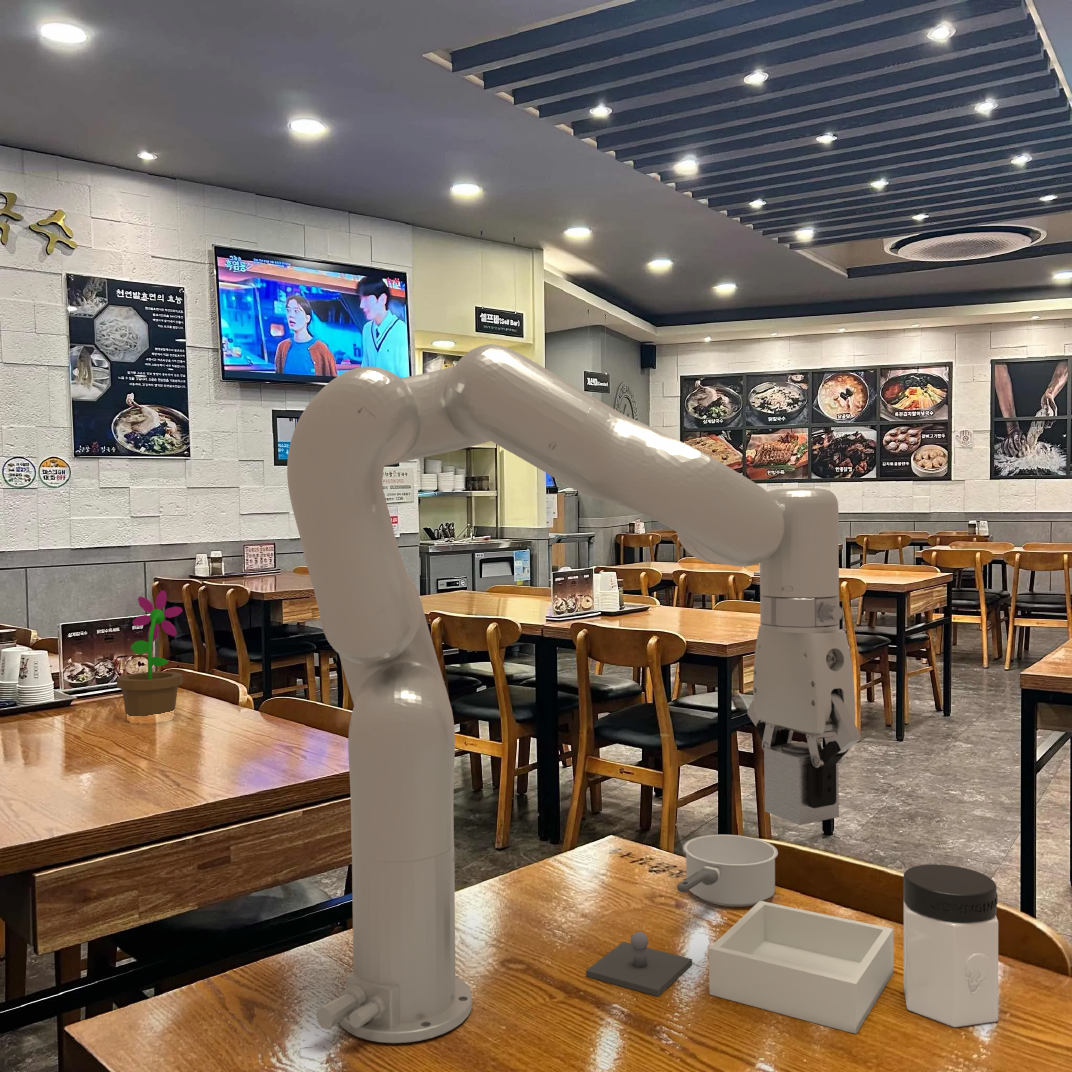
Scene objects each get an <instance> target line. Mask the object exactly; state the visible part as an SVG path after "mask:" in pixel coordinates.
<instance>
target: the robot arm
mask: <svg viewBox="0 0 1072 1072" xmlns="http://www.w3.org/2000/svg"><path fill="white" fill-rule="evenodd" d="M292 433H293V434H292V436H291V440H290V443H289V449H288V454H287V464H286V467H287V468H286V469H287V473H286V476H287V487H288V492H289V493H288V494H289V499H290V503H291V508H292V511H293V516H294V520H295V524H296V527H297V532H298V535H299V538H300V539H299V540H300V542H301V547H302V550H303V556H304V560H305V563H306V567H307V570H308V571H307V572H308V574H309V578H310V582H311V586H312V588H313V593H314V596H315V601H316V604H317V608H318V613H319V619H320V620H319V621H320V624H321V628H322V632H323V635H324V636H325V639H326V640H327V642H328V643H329V645H330V646H331V647H332V649H333V650H334V651H335V652H336V653H338V656H339V659H340V662H341V666H342V670H343V672H344V676H345V680H346V683H347V686H348V689H349V694H350V696H351V700H352V703H353V708H352V712H351V715H350V716H351V717H350V720H349V727H348V736H347V737H348V740H347V742H348V743H347V744H348V745H347V746H348V748H347V750H348V754H347V755H348V766H349V767H348V771H349V787H350V788H349V789H350V790H349V791H350V824H351V826H350V827H351V829H350V832H351V833H350V834H351V838H350V839H351V841H350V842H351V843H350V844H351V872H352V873H351V874H352V876H351V878H352V881H351V883H352V884H351V885H352V886H351V887H352V888H351V889H352V958H353V959H352V964H353V965H352V967H353V971H351V972H349V973H348V974H346V975H345V989H343V990H342V991H341V993H340V994H339V995H338V996H339V997H337V998H334V999H333V1000H331V1001H329V1002H327V1003H325V1004H323V1005H322V1006H320V1007H318V1008H317V1011H316V1020H317V1023H318V1025H319V1026H320V1027H321V1028H322V1029H324V1030H329V1029H331V1028H333V1027H334V1026H336V1025H338V1024H339V1025H340V1026H341V1027H342V1028H343V1029H344V1030H345V1031H346V1032H348V1033H349V1034H351V1035H353V1036H355V1037H357V1038H360V1039H362V1040H366V1041H371V1042H375V1043H383V1044H384V1043H385V1044H406V1043H415V1042H420V1041H425V1040H426V1041H427V1040H429V1039H433V1038H435V1037H438V1036H442V1035H444V1034H446V1033H449V1032H450V1031H452V1030H454V1029H456V1028H457V1027H458V1026H460V1025H461V1024H462V1023H463V1022H465V1020H466V1019H467V1018H468V1017H469V1015H470V1013H471V1012H472V1007H473V995H472V991H471V988H470V986H469V985H468V984H467V983H466V982H465V981H464V980H463V979H462V978H460V977H458V976H456V912H455V911H456V909H455V908H456V906H455V905H456V904H455V903H456V901H455V899H456V898H455V897H456V896H455V895H456V893H455V890H456V889H455V887H456V886H455V831H454V825H455V824H454V823H455V821H454V796H455V795H454V792H455V791H454V790H455V789H454V787H455V784H454V782H455V757H456V756H455V755H456V731H455V722H454V721H455V720H454V715H453V709H452V706H451V702H450V699H449V694H448V691H447V687H446V685H445V681H444V680H445V679H444V678H443V673H442V670H441V667H440V664H439V660H438V657H437V653H436V649H435V646H434V643H433V639H432V636H431V632H430V628H429V625H428V622H427V619H426V614H425V612H424V606H423V604H422V601H421V600H422V599H421V597H420V594H419V590H418V588H417V587H416V586H417V585H416V584H415V582H414V581H413V579H412V578H411V577H410V576H409V575H408V573H407V570H406V568H405V565H404V562H403V559H402V555H401V552H400V548H399V545H398V542H397V539H396V534H395V532H394V527H393V521H392V518H391V514H390V511H389V507H388V503H387V500H386V496H385V491H384V487H383V486H384V484H383V475H384V470H385V466H391V465H395V464H400V463H404V462H409V461H414V460H417V459H418V460H419V459H422V458H426V457H432V456H437V455H441V454H445V453H450V452H454V451H458V450H459V451H460V450H462V449H468V448H472V447H476V446H478V445H482V444H486V443H489V442H491V443H494V444H495V445H497V446H498V447H501V448H502V449H504V450H505V451H507V452H509V453H512V454H513V455H515V456H516V457H518V458H520V459H521V460H523V461H525V462H527V463H529V464H530V465H532V466H533V467H535V468H537V469H539V470H541V471H542V472H544V473H546V474H547V475H548V476H550V477H552V478H554V479H556V480H557V481H559V482H561V483H563V484H564V485H566V486H568V487H569V488H571V489H573V490H575V491H577V492H579V493H582V494H584V495H585V496H588V497H590V498H593V499H595V500H599V501H602V502H607V503H610V504H614V505H618V506H621V507H624V508H626V509H630V510H632V511H634V512H636V513H639V514H640V515H641V514H642V515H644V516H646V517H648V518H650V519H651V520H654V521H656V522H658V523H660V524H662V525H664V526H665V527H668V528H669V529H671V530H673V531H675V532H676V535H677V538H678V541H679V543H680V545H681V546H682V547H683V549H684V550H685V551H686V552H687V553H688V554H689V555H691V556H692V557H693V558H695V559H698V560H699V561H701V562H705V563H710V564H716V565H723V566H724V565H728V566H733V567H744V568H745V567H751V566H756V565H759V593H760V594H759V597H760V598H759V599H760V600H759V601H760V602H759V607H760V609H759V610H760V612H759V613H760V614H759V615H760V621H759V622H760V624H759V626H758V631H757V636H756V641H755V651H754V662H753V674H752V675H753V678H752V681H753V682H752V694H753V695H752V701H751V703H750V705H749V706H748V708H747V711H746V712H747V716H748V718H750V720H751V722H752V723H753V724H754V726H755V728H756V732H757V734H758V736H759V737H760V739H761V749H762V751H764V748H765V747H772V746H778V745H783V744H786V743H792V739H793V734H794V732H795V733H799V734H803V735H805V737H806V740H807V741H806V743H808V747H809V752H810V757H811V761H812V764H813V765H810V766H807V804H808V806H809V807H811V808H819V807H824V806H829V805H834V804H835V803H836V764H838V765H839V764H841V763H842V760H843V757H844V756H845V755H846V754H847V753H848V752H849V750H850V749H851V748H852V747H854V746H855V745H856V744H857V743H858V742H860V740H861V733H860V731H859V730H858V728H857V726H856V698H855V682H854V672H853V663H852V656H851V651H850V647H849V646H850V645H849V641H848V637H847V634H846V630H843V629H840V620H842V618H843V615H844V612H843V609H842V607H841V606H840V588H839V587H840V575H839V574H840V572H839V571H840V569H839V568H840V567H839V566H840V564H839V562H840V561H839V560H840V559H839V555H840V554H839V552H840V551H839V550H840V548H839V545H840V543H839V541H840V539H839V537H840V536H839V533H840V532H839V531H840V530H839V525H840V523H839V521H840V520H839V513H840V512H839V501H838V499H837V496H836V495H835V493H834V492H832V491H831V490H828V489H825V488H816V487H815V488H813V487H812V488H810V487H809V488H808V487H807V488H806V487H805V488H802V487H800V488H780V489H773V490H769V491H767V490H766V489H765V488H764V487H762V486H760V485H759V484H757V483H756V482H754V481H753V480H752V479H749V478H748V477H746V476H744V475H743V474H741V473H740V472H738V471H736V470H734V469H733V468H731V467H729V466H728V465H726V464H725V463H722V462H721V461H719V460H718V459H716V458H714V457H713V456H710V455H709V454H706V452H703V451H702V450H699V449H697V448H695V447H693V446H691V445H689V444H688V443H686V442H683V441H681V440H678V439H676V438H674V437H673V436H669V435H668V434H665V433H663V432H661V431H659V430H657V429H655V428H653V427H651V426H649V425H647V424H645V423H644V422H641V421H639V420H636V419H634V418H631V417H630V416H628V415H625V414H623V413H622V412H620V411H618V410H616V409H615V408H614V407H611V406H609V405H608V404H606V403H604V402H602V401H601V400H599V399H597V398H596V397H593V396H592V395H590V394H589V393H586V392H585V391H584V390H582V389H580V388H579V387H577V386H575V385H573V384H572V383H570V382H569V381H567V380H565V379H564V378H561V376H558V375H557V374H555V373H553V372H552V371H550V370H549V369H547V368H545V367H543V366H542V365H540V364H539V363H537V362H535V361H533V360H532V359H530V358H528V357H527V356H525V355H523V354H521V353H520V352H518V351H516V350H514V349H511V348H510V347H506V346H504V345H499V344H494V343H493V344H484V345H480V346H477V347H475V348H473V349H470V350H469V351H468V352H466V353H465V354H464V355H463V356H462V357H461V358H460V359H459V360H458V361H457V362H456V364H455V365H453V366H450V367H446V368H442V369H438V370H433V371H429V372H424V373H419V374H416V375H409V376H406V377H401V378H400V377H399V376H398V375H397V374H395V373H393V372H391V371H389V370H387V369H384V368H382V367H377V366H360V367H355V368H352V369H349V370H347V371H345V372H343V373H341V374H339V375H338V376H336V377H335V378H333V379H332V380H331V381H329V382H328V383H327V384H326V385H324V386H323V388H321V389H320V390H319V392H317V394H316V395H315V396H314V397H313V398H312V400H311V401H310V402H309V403H307V406H306V407H305V409H304V410H303V412H302V414H301V415H300V417H299V418H298V421H297V424H296V426H295V428H294V431H293V432H292ZM821 739H824V741H825V746H822V744H821ZM822 747H823V749H822Z"/></svg>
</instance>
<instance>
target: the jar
mask: <svg viewBox="0 0 1072 1072" xmlns="http://www.w3.org/2000/svg"><path fill="white" fill-rule="evenodd" d="M997 888H998V887H997V884H996V882H995V881H994V880H993V878H991V877H989V876H987V875H986V874H984V873H981V872H979V871H976V870H973V869H969V868H966V867H961V866H957V865H949V864H936V863H935V864H922V865H921V864H920V865H916V866H912V867H910V868H908V869H906V870H905V872H904V873H903V990H904V991H903V992H904V997H905V998H904V999H905V1006H906V1009H907V1010H908V1011H910V1012H913V1013H915V1014H917V1015H920V1016H923V1017H926V1018H929V1019H931V1020H934V1021H937V1022H938V1023H942V1024H944V1025H947V1026H949V1027H952V1028H960V1027H961V1028H962V1027H967V1026H973V1025H982V1024H989V1023H995V1022H998V1021H999V920H998V917H997V909H998V908H997V905H999V904H998V903H999V901H998V896H999V895H998V893H997V892H998V891H997Z"/></svg>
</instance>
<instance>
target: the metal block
mask: <svg viewBox="0 0 1072 1072" xmlns="http://www.w3.org/2000/svg"><path fill="white" fill-rule="evenodd" d="M821 747H822V749H823V748H824V746H821ZM763 753H764V755H763V758H764V759H763V766H764V769H763V770H764V771H763V772H764V777H763V778H764V779H763V780H764V812H765V813H767V814H770V815H773V816H776V817H778V818H781V819H783V820H785V821H789V822H791V823H793V824H796V825H798V826H802V825H807V824H811V823H816V822H820V821H827V820H831V819H832V820H833V819H837V818H840V806H839V805H840V793H839V792H840V790H839V787H840V785H839V783H840V782H839V781H840V780H839V777H840V776H839V775H840V774H839V764H836V803H835V804H834V805H829V806H824V807H819V808H811V807H809V806H808V804H807V766H810V765H813V764H812V761H811V757H810V752H809V747H808V742H805V741H797V742H791V743H786V744H783V745H778V746H772V747H765V748H764V750H763Z"/></svg>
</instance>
